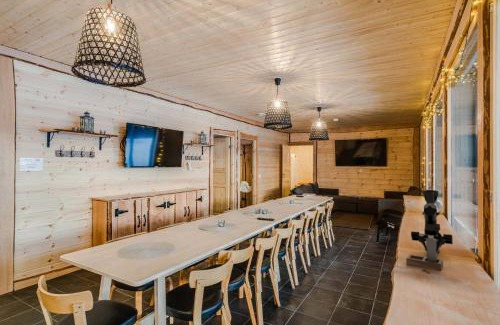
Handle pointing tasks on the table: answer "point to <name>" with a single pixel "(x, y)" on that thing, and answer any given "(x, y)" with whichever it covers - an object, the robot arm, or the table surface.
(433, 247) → the slate plug
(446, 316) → the table surface
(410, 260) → the box
